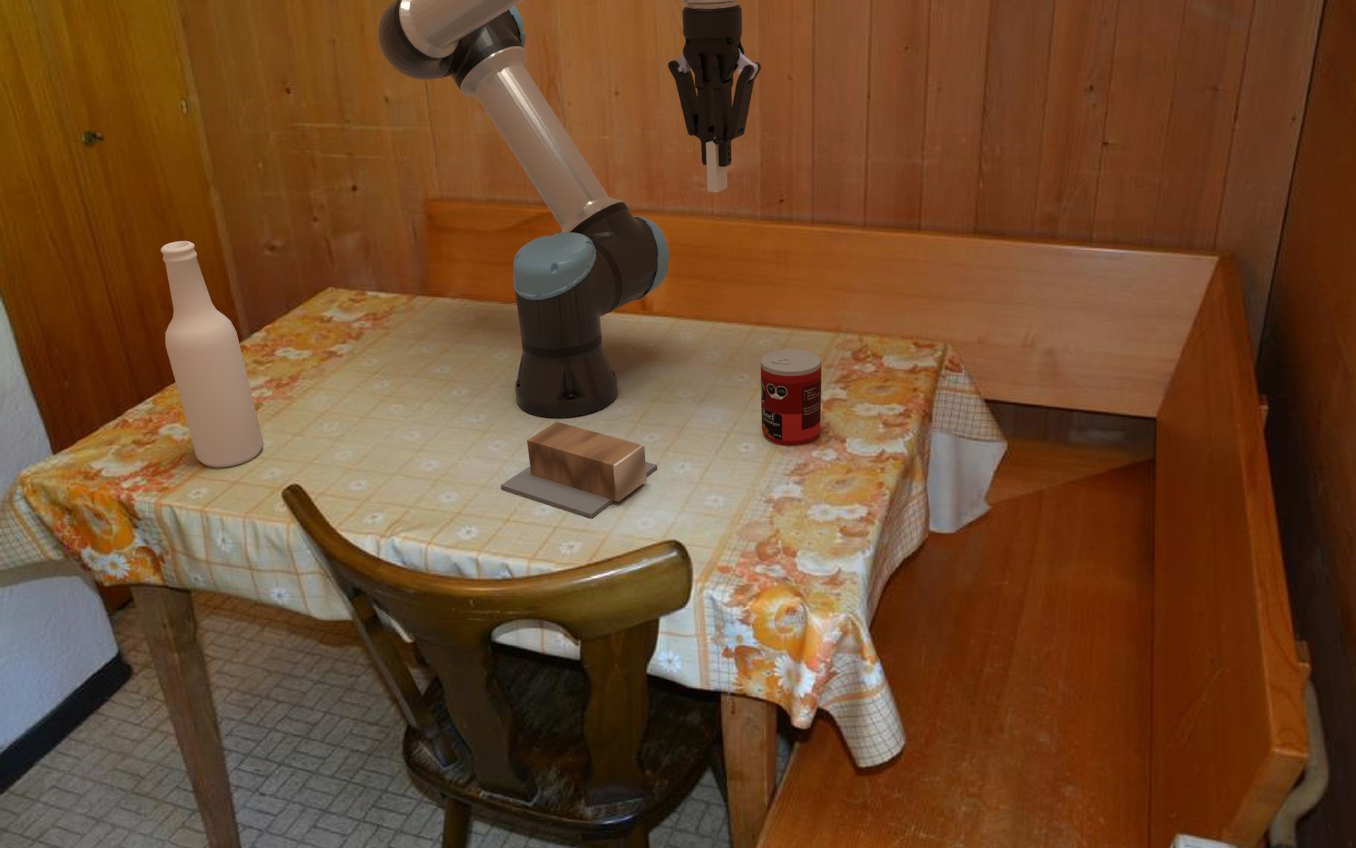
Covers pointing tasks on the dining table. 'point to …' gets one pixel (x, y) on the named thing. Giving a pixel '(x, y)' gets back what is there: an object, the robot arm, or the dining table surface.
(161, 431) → the dining table surface
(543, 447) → the walnut block
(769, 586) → the dining table surface
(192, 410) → the alcohol
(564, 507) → the mat
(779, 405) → the canned food
